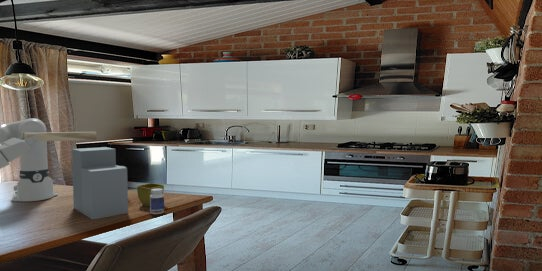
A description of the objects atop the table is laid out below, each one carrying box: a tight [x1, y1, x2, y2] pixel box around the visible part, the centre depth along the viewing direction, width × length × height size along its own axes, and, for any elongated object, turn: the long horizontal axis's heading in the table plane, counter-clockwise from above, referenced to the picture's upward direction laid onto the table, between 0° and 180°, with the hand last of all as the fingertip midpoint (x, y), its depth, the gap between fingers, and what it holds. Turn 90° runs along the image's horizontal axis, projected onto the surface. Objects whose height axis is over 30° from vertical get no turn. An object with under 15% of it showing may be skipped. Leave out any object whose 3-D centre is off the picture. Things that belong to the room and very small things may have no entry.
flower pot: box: [136, 182, 165, 207], centre depth 165 cm, size 9×9×9 cm
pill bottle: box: [149, 188, 165, 215], centre depth 152 cm, size 6×6×10 cm
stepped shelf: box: [71, 146, 129, 220], centre depth 155 cm, size 24×14×26 cm, turn 44°
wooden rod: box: [23, 131, 97, 142], centre depth 139 cm, size 4×24×3 cm, turn 134°
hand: (34, 135), depth 133 cm, fingers closed on wooden rod, 4 cm apart
